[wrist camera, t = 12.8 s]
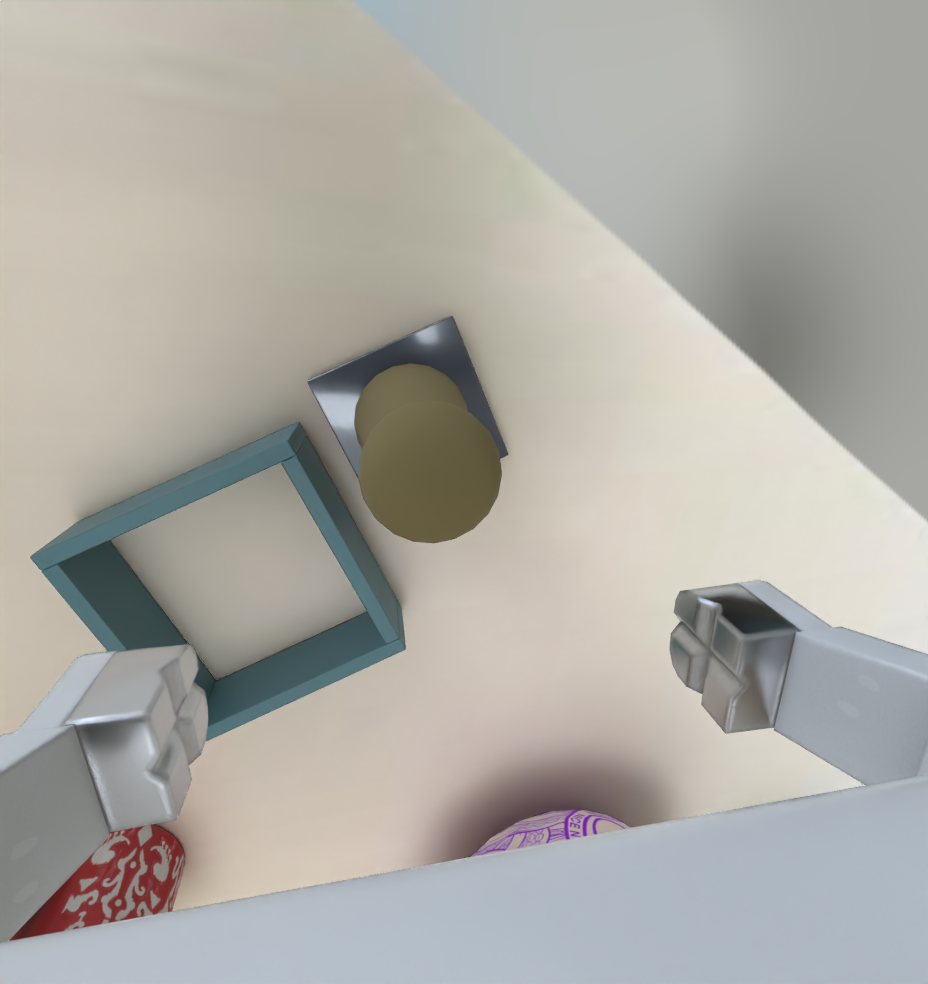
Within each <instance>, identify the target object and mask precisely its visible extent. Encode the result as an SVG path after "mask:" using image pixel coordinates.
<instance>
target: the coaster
mask: <svg viewBox="0 0 928 984" xmlns="http://www.w3.org/2000/svg"><path fill="white" fill-rule="evenodd" d="M410 363H412V364H418V365H425V366H430V367H432V368H434V369H436V370H438V371H440V372H442V373H444V374H446V375H447V376H448V377H449V378H450V379H451V380H452V381H453V382H454V383H455V384H456V385H457V386H458V388H459V390H460V392H461V394H462V396H463V398H464V400H465V401H466V404H467V409H468V412H470V413H471V414H472V415H473V416H474V417H475V418H476V419H477V420H478V421H479V422H480V423H481V424H482V425H483V426H484V427H485V428H486V429H487V430H488V431H489V432H490V434H491V436H492V438H493V440H494V442H495V444H496V446H497V448H498V450H499V456H500V459H501V458H503V457H505V456H507V455H508V452H507V449H506V447H505V444H504V442H503V439H502V437H501V435H500V432H499V430H498V427H497V425H496V422H495V420H494V417H493V415H492V412H491V410H490V407H489V405H488V402H487V400H486V397H485V395H484V392H483V390H482V387H481V385H480V383H479V380H478V378H477V375H476V373H475V370H474V368H473V365H472V363H471V360H470V358H469V355H468V353H467V350H466V348H465V345H464V343H463V340H462V338H461V336H460V333H459V331H458V328H457V326H456V323H455V321H454V318H453V316H448V317H446V318H444V319H442V320H439V321H437V322H435V323H433V324H430V325H428V326H426V327H424V328H422V329H419V330H417V331H415V332H413V333H411V334H408V335H406V336H404V337H402V338H400V339H397V340H395V341H393V342H391V343H388V344H386V345H384V346H382V347H380V348H377V349H375V350H373V351H371V352H369V353H366V354H364V355H362V356H360V357H357V358H355V359H353V360H351V361H349V362H346V363H344V364H342V365H340V366H338V367H335V368H333V369H331V370H329V371H327V372H324V373H322V374H320V375H318V376H315V377H313V378H311V379H309V380H308V381H307V382H308V384H309V386H310V388H311V390H312V392H313V394H314V396H315V398H316V400H317V401H318V403H319V405H320V407H321V409H322V411H323V413H324V415H325V417H326V418H327V420H328V422H329V424H330V426H331V428H332V430H333V432H334V434H335V435H336V437H337V439H338V441H339V443H340V445H341V447H342V449H343V451H344V453H345V454H346V456H347V458H348V460H349V462H350V464H351V466H352V468H353V470H354V471H355V473H356V475H357V477H359V468H360V458H361V451H362V448H361V446H360V444H359V442H358V439H357V435H356V431H355V426H354V418H355V408H356V404H357V402H358V400H359V397H360V395H361V393H362V391H363V389H364V388H365V387H366V386H367V385H368V383H369V382H370V381H371V380H372V379H373V378H374V377H375V376H376V375H378V374H380V373H381V372H383V371H385V370H387V369H389V368H391V367H393V366H398V365H404V364H410ZM358 479H359V478H358Z"/></svg>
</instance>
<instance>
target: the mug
mask: <svg viewBox="0 0 928 984" xmlns="http://www.w3.org/2000/svg"><path fill="white" fill-rule="evenodd" d="M109 833H110V836H109V837H108V838H107V839H106V840H105V841H104V842H103V843H102V845H101V846H100V847H99V848H98V849H97V850H96V851H95V852H94V853H93V854H92V855H91V856H90V857H89V858H88V859H87V860H86V861H85V862H84V863H83V864H82V865H81V866H80V867H79V868H78V869H77V870H76V871H75V872H74V873H73V874H72V876H71V877H70V878H69V879H68V880H67V881H66V882H65V883H64V884H63V885H62V886H61V887H60V888H59V889H58V890H57V891H56V892H55V893H54V894H53V895H52V896H51V897H50V898H49V899H48V900H47V901H46V902H45V903H44V904H43V905H42V907H41V908H40V909H39V910H38V911H37V912H36V913H35V914H34V915H33V916H32V917H31V918H30V919H29V920H28V921H27V922H26V923H25V924H24V925H23V926H22V927H21V928H20V929H19V930H18V931H17V932H16V933H15V934H14V935H13V936H12V938H11V939H10V940H9V941H12V940H17V939H23V938H28V937H34V936H39V935H45V934H50V933H56V932H61V931H67V930H72V929H78V928H83V927H89V926H94V925H100V924H105V923H111V922H116V921H122V920H127V919H133V918H138V917H144V916H149V915H155V914H160V913H166V912H171V911H172V909H173V905H174V901H175V898H176V894H177V891H178V887H179V884H180V880H181V877H182V872H183V867H184V862H185V861H184V852H183V849H182V847H181V845H180V844H179V842H178V841H177V839H176V838H175V837H174V836H173V835H171V834H170V833H169V832H167V831H166V830H164V829H162V828H160V827H158V826H155V825H152V824H151V825H146V826H141V827H135V828H130V829H124V830H119V831H114V832H109Z"/></svg>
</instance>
